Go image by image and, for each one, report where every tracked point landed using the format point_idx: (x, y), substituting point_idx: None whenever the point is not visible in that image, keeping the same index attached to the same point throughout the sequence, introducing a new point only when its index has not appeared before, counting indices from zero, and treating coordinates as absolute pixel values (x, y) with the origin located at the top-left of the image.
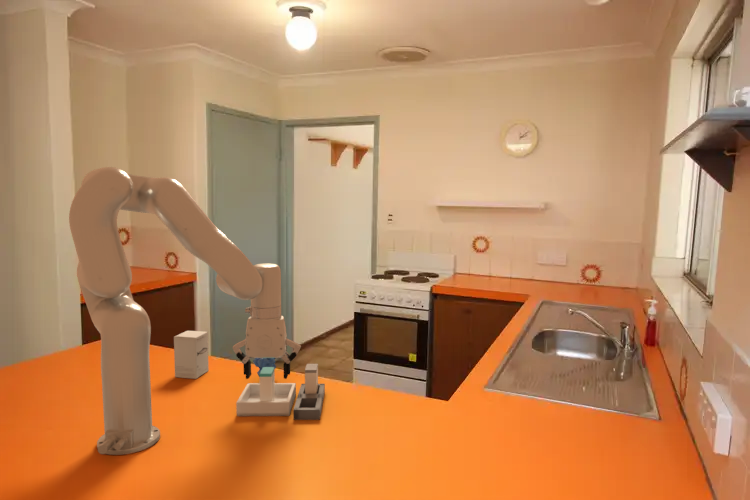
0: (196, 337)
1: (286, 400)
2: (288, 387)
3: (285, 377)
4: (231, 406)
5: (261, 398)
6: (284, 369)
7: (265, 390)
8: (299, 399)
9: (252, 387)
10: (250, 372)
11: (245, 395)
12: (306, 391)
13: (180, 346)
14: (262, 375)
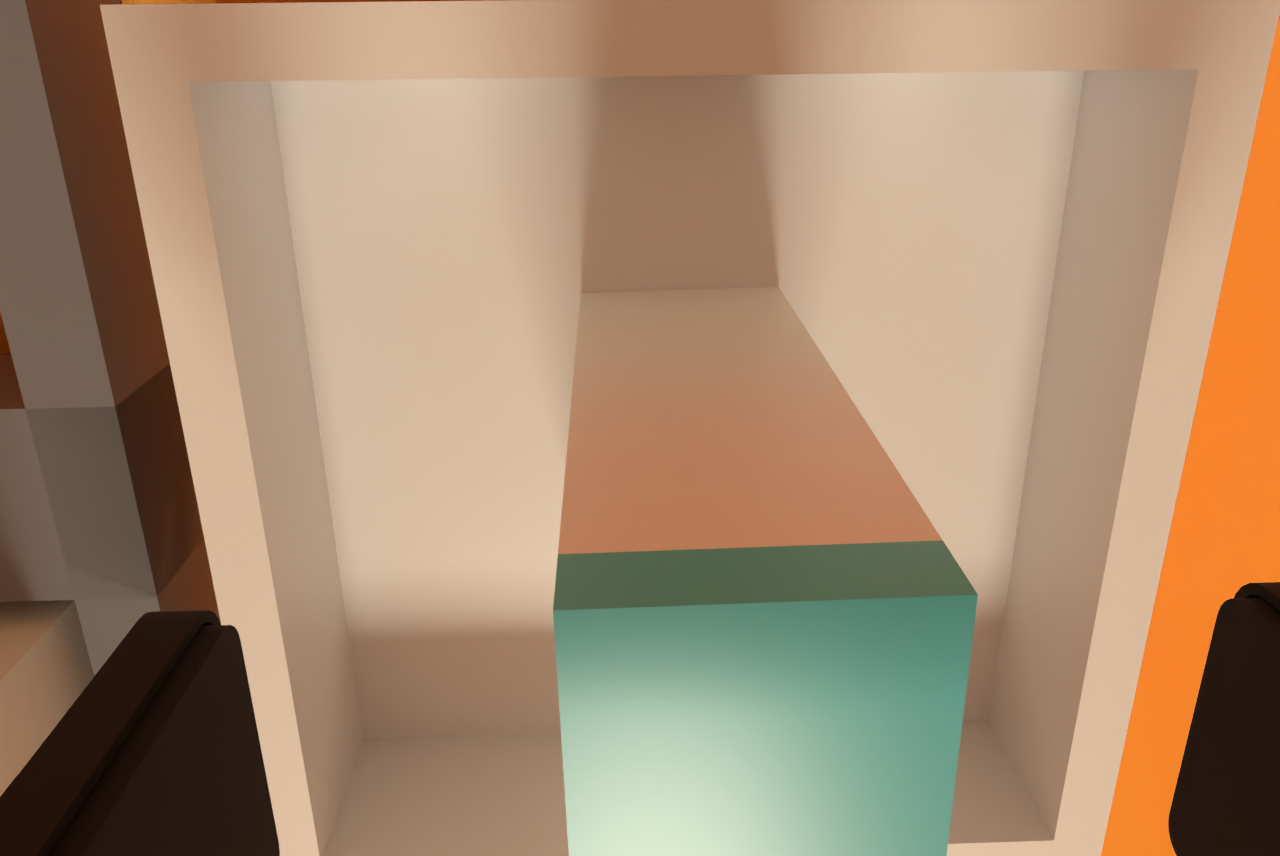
0: None
1: (399, 539)
2: (402, 817)
3: (162, 626)
4: (1229, 383)
5: (776, 333)
6: (61, 800)
7: (712, 390)
8: (47, 352)
9: (993, 799)
10: (1226, 847)
11: (1087, 491)
12: (5, 644)
13: None
14: (857, 564)
